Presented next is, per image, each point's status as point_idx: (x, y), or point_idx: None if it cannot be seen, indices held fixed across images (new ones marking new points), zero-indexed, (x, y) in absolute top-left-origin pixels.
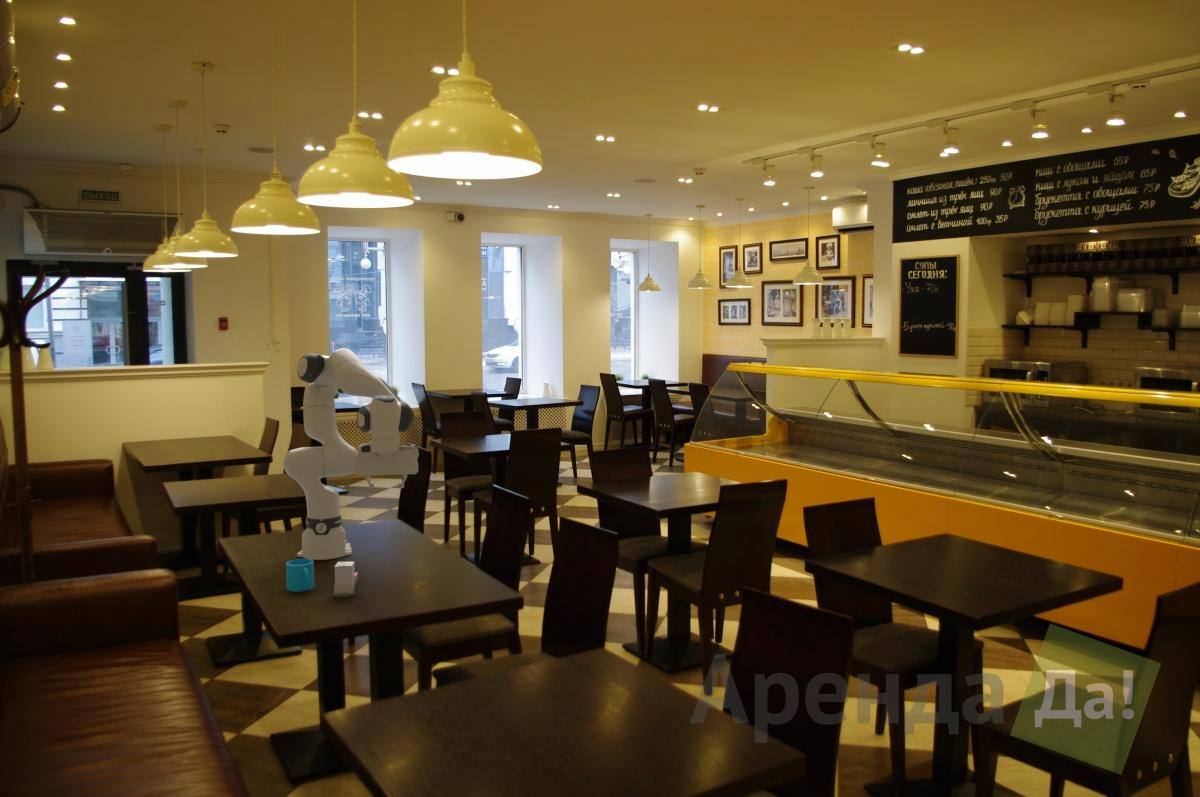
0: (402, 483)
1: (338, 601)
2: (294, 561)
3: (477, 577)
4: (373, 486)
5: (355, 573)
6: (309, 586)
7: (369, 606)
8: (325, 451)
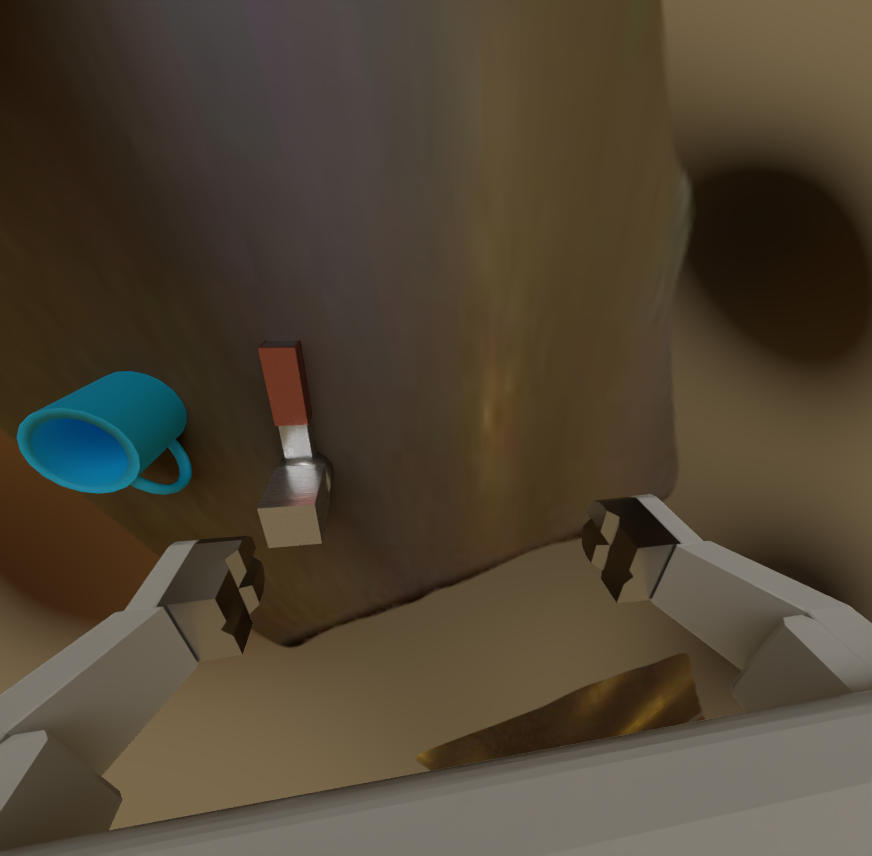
0: (657, 594)
1: None
2: (38, 427)
3: (653, 344)
4: (249, 597)
5: (290, 359)
6: (178, 433)
7: (390, 539)
8: None
